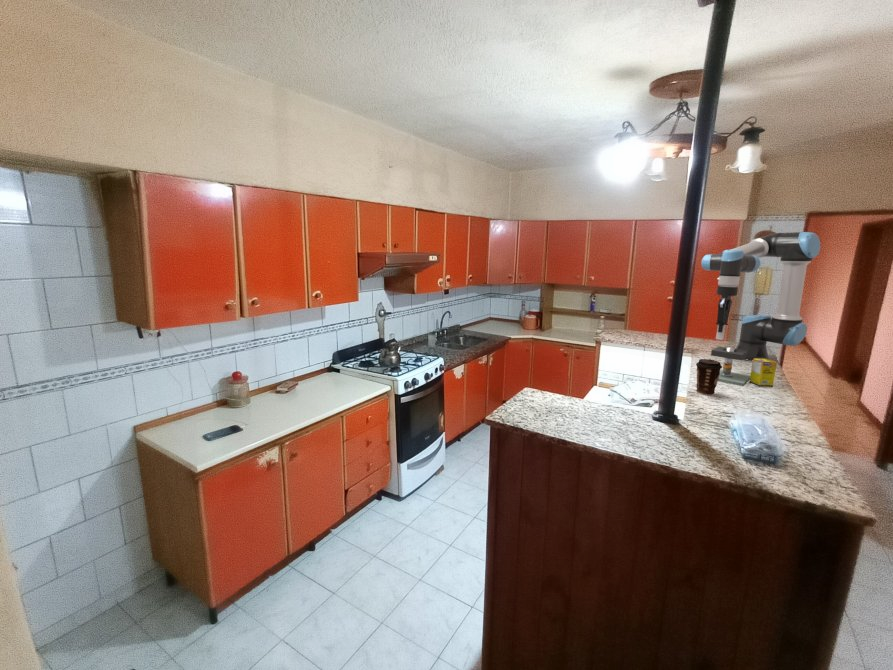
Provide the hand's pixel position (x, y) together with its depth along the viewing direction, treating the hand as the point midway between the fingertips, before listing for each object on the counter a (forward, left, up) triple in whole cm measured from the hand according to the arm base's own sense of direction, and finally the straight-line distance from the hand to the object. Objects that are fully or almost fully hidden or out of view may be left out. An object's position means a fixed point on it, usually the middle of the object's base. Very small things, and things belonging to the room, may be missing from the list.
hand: (719, 339), depth 187 cm
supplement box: (0, +17, -17) cm, 24 cm away
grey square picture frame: (0, +4, -7) cm, 8 cm away
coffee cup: (+29, +4, -17) cm, 34 cm away
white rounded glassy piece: (0, +4, -16) cm, 16 cm away
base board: (0, +4, -17) cm, 18 cm away
